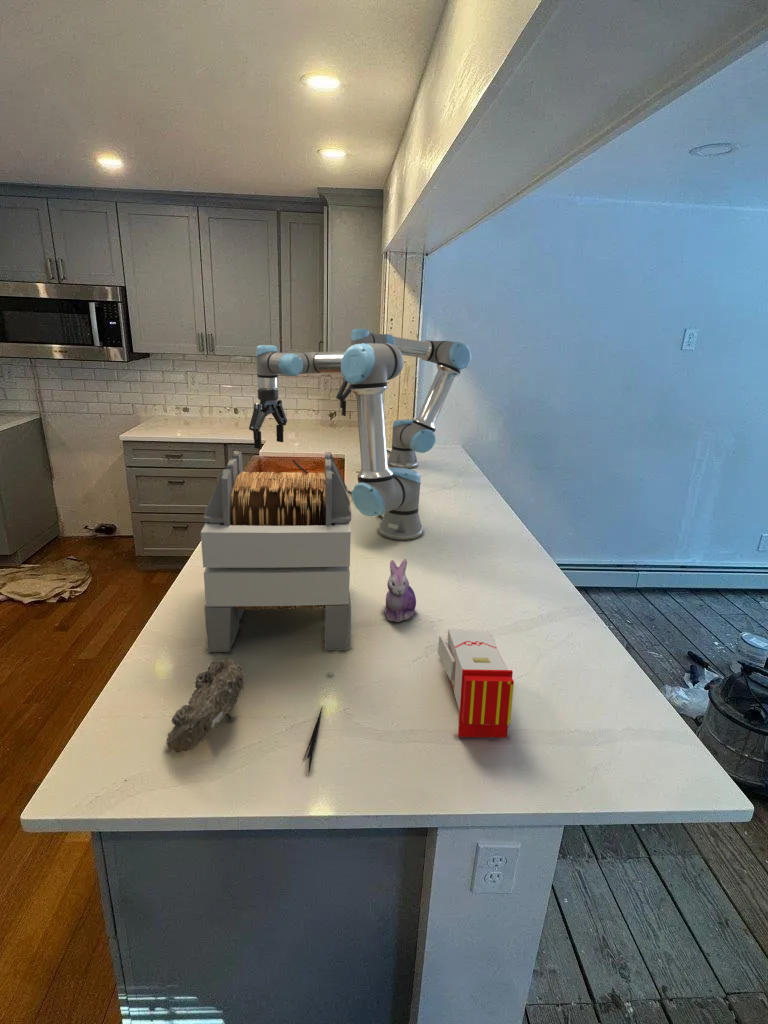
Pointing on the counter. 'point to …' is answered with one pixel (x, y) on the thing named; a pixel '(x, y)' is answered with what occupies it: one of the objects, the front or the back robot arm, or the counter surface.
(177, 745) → the fossil
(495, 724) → the toy
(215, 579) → the grey boxy piece
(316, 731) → the feather
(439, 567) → the counter surface
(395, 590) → the figurine
